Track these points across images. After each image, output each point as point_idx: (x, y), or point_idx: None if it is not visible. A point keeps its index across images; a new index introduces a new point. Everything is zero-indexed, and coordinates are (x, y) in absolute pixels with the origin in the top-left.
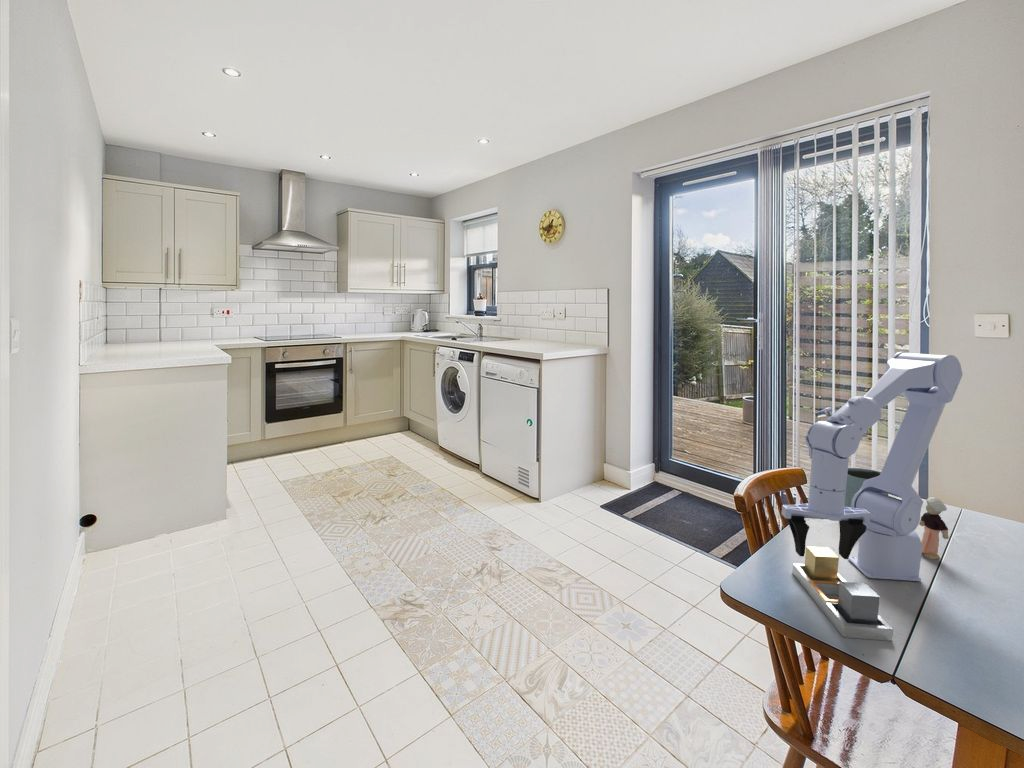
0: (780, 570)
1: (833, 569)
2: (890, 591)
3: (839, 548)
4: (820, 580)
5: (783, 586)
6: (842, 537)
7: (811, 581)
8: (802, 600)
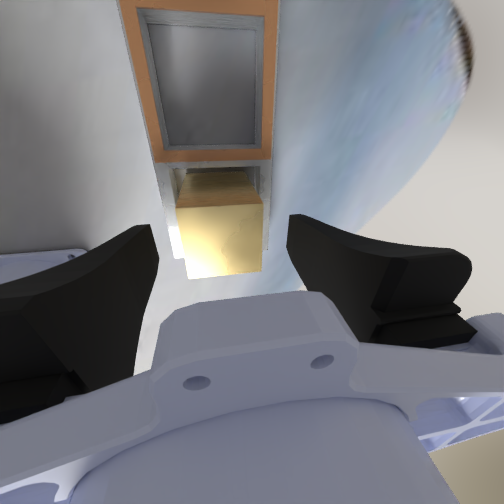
0: (283, 242)
1: (194, 191)
2: (32, 193)
3: (155, 270)
4: (229, 178)
5: (311, 169)
6: (136, 302)
7: (266, 151)
8: (299, 95)
